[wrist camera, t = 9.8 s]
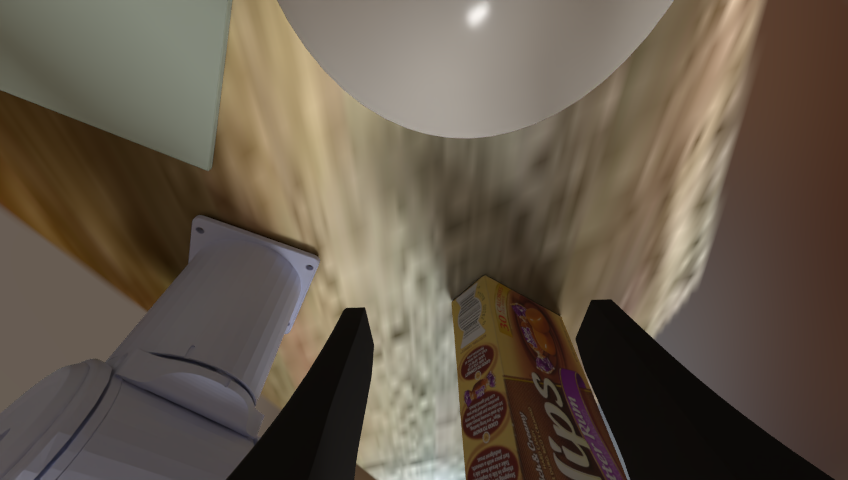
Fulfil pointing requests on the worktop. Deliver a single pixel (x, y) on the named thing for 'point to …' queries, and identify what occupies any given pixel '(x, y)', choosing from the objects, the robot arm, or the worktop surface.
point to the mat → (122, 67)
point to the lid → (470, 56)
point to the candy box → (524, 393)
